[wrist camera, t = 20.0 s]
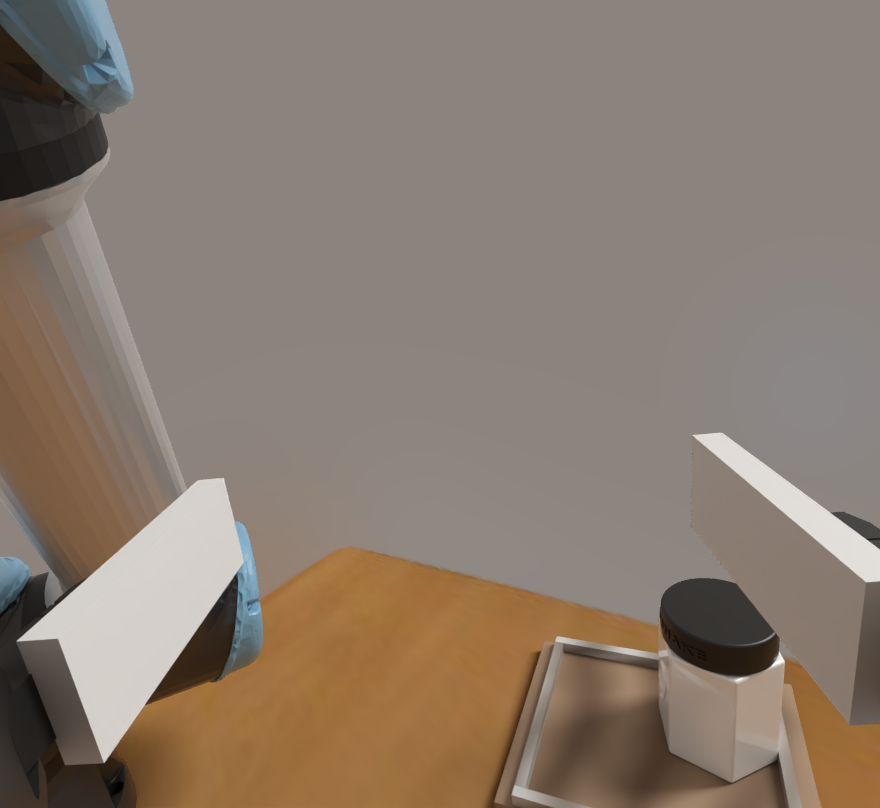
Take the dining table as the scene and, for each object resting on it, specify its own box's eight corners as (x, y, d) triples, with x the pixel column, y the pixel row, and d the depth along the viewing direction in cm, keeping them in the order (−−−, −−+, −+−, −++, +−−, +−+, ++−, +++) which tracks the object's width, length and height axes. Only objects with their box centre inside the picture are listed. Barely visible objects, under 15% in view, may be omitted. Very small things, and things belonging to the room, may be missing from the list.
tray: (495, 813, 42) (492, 792, 41) (545, 650, 57) (543, 632, 57) (844, 924, 33) (847, 899, 32) (790, 695, 49) (791, 675, 48)
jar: (651, 687, 50) (650, 573, 46) (749, 692, 48) (755, 574, 45) (672, 779, 41) (673, 648, 38) (792, 789, 40) (803, 653, 36)
